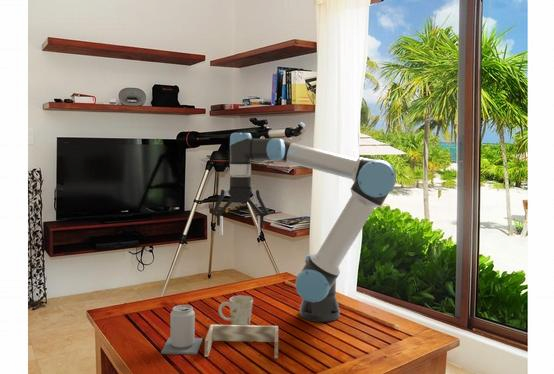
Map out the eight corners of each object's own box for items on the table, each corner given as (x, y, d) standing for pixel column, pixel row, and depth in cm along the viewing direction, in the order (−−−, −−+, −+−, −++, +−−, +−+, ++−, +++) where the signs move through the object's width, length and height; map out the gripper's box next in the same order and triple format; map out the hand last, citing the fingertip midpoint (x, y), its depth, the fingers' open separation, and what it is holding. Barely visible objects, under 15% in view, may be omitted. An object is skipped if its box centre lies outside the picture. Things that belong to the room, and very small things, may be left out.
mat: (202, 339, 157) (202, 338, 157) (197, 354, 146) (197, 352, 146) (168, 339, 157) (168, 337, 157) (160, 353, 146) (160, 351, 146)
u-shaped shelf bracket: (277, 340, 157) (278, 325, 157) (277, 358, 144) (278, 342, 144) (210, 339, 157) (210, 324, 157) (204, 356, 144) (204, 340, 144)
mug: (249, 332, 164) (249, 303, 163) (214, 328, 166) (214, 300, 166) (255, 323, 172) (255, 296, 171) (221, 320, 174) (221, 293, 174)
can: (183, 351, 146) (183, 313, 145) (165, 345, 150) (165, 308, 149) (199, 343, 152) (199, 306, 151) (181, 338, 156) (182, 302, 155)
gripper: (274, 175, 176) (274, 233, 178) (206, 175, 175) (206, 232, 177) (275, 177, 168) (274, 236, 170) (204, 176, 168) (204, 236, 170)
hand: (240, 234), depth 174 cm, fingers open, 13 cm apart
